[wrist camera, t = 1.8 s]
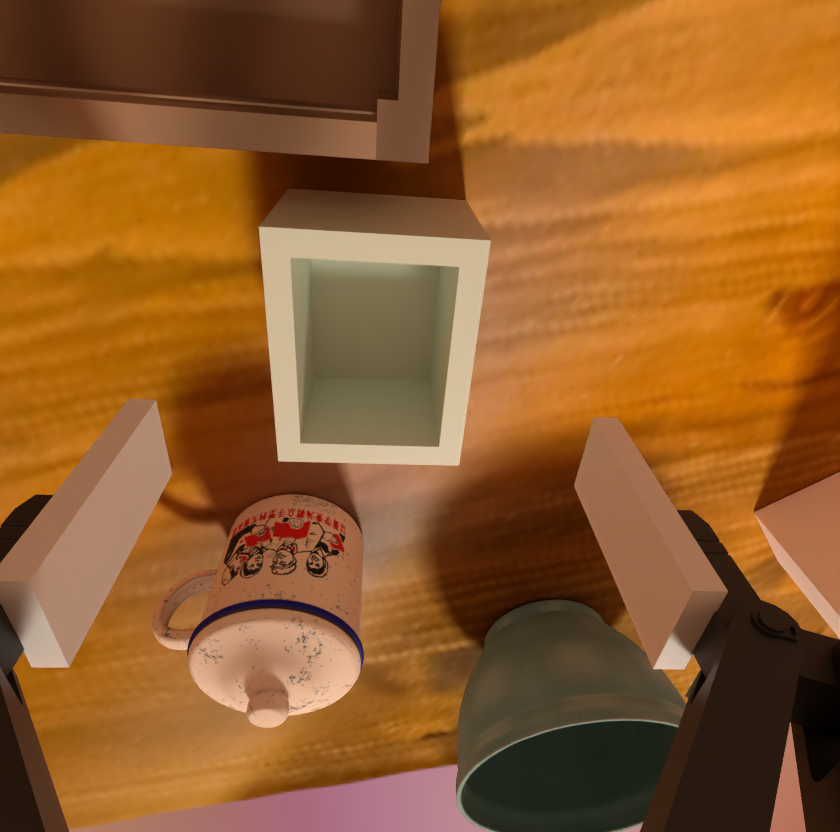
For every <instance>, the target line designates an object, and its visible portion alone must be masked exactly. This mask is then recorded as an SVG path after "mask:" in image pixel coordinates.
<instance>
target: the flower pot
mask: <svg viewBox="0 0 840 832" xmlns="http://www.w3.org/2000/svg"><path fill="white" fill-rule="evenodd" d="M685 707H686V703H685V702H684V700H683V698H682V697H681V695H680V694H679V692H678V690H677V689H676V688H675V686H674V685H673V684H672V682H671V681H670V680H669V678H668V677H667V676H666V674H665V673H664V672H663V671H662V670H661V669H653V668H652V666H651V664H650V661H649V659H648V657H647V654H646V653H645V652H644V651H643V650H642V649H641V648H640V647H639V646H637V645H636V644H635V643H634V642H633V641H631V640H630V639H629V638H627V637H626V636H625V635H623V634H622V633H620V632H619V631H617V630H616V629H614V628H612V627H610V626H609V625H607V624H605V622H604V621H603V619H602V618H601V616H600V615H599V614H598V613H597V612H596V611H595V610H593V609H592V608H590V607H588V606H586V605H585V604H582V603H579V602H575V601H569V600H544V601H538V602H534V603H530V604H527V605H523V606H521V607H518V608H516V609H514V610H512V611H510V612H508V613H507V614H505V615H504V616H502V617H501V618H500V619H498V620H497V621H496V622H495V623H494V624H493V625H492V627H491V628H490V629H489V631H488V633H487V635H486V637H485V641H484V651H483V653H482V655H481V656H480V658H479V660H478V661H477V663H476V665H475V667H474V669H473V671H472V673H471V676H470V678H469V681H468V683H467V686H466V689H465V692H464V696H463V700H462V704H461V708H460V714H459V721H458V731H457V764H458V773H457V779H456V800H457V806H458V809H459V811H460V812H461V814H462V815H463V816H464V817H465V818H466V820H468V821H469V822H470V823H472V824H473V825H475V826H477V827H479V828H481V829H483V830H486V831H489V832H619V831H623V830H627V829H630V828H633V827H636V826H639V825H641V824H643V822H644V819H645V817H646V814H647V811H648V808H649V806H650V803H651V800H652V797H653V795H654V792H655V789H656V786H657V784H658V781H659V778H660V775H661V773H662V770H663V767H664V764H665V762H666V759H667V756H668V754H669V751H670V748H671V745H672V743H673V740H674V737H675V734H676V732H677V729H678V726H679V723H680V721H681V718H682V715H683V712H684V710H685Z"/></svg>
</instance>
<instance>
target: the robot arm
mask: <svg viewBox="0 0 840 832" xmlns="http://www.w3.org/2000/svg"><path fill="white" fill-rule="evenodd" d="M171 475H172V471H171V466H170V461H169V457H168V452H167V448H166V443H165V439H164V434H163V429H162V425H161V420H160V416H159V411H158V406H157V402H156V400H144V399H128V401H127V402H126V403H125V404H124V406H123V407H122V408H121V410H120V411H119V412H118V413H117V415H116V416H115V417H114V419H113V420H112V421H111V422H110V424H109V425H108V426H107V427H106V429H105V430H104V431H103V433H102V434H101V435H100V436H99V438H98V439H97V440H96V442H95V443H94V444H93V445H92V447H91V448H90V449H89V450H88V452H87V453H86V454H85V456H84V457H83V458H82V459H81V461H80V462H79V463H78V465H77V466H76V467H75V468H74V470H73V471H72V472H71V474H70V475H69V476H68V477H67V479H66V480H65V481H64V482H63V484H62V485H61V486H60V488H59V489H58V490H57V491H56V493H55V494H54V495H35V496H33V497H32V498H30V499H29V500H27V501H26V502H24V503H23V504H21V505H20V506H18V507H17V508H15V509H14V510H13V512H12V513H11V514H10V515H9V516H8V517H7V519H6V520H5V521H4V522H3V523H2V525H1V528H0V832H69V830H68V827H67V824H66V821H65V818H64V815H63V812H62V809H61V806H60V803H59V800H58V797H57V794H56V791H55V788H54V785H53V782H52V779H51V776H50V773H49V770H48V767H47V764H46V761H45V758H44V755H43V752H42V749H41V746H40V744H39V741H38V738H37V735H36V732H35V729H34V726H33V723H32V720H31V717H30V714H29V711H28V708H27V705H26V702H25V699H24V696H23V693H22V690H21V687H20V684H19V681H18V678H17V675H16V674H15V672H14V670H13V667H14V665H15V664H16V662H17V660H18V659H19V657H20V656H21V654H22V652H23V651H24V653H25V655H26V657H27V659H28V661H29V663H30V665H31V667H70V665H71V663H72V661H73V659H74V657H75V655H76V653H77V652H78V650H79V648H80V646H81V644H82V642H83V640H84V638H85V637H86V635H87V633H88V631H89V629H90V627H91V625H92V623H93V622H94V620H95V618H96V616H97V614H98V612H99V610H100V608H101V607H102V605H103V603H104V601H105V599H106V597H107V595H108V593H109V592H110V590H111V588H112V586H113V584H114V582H115V580H116V578H117V577H118V575H119V573H120V571H121V569H122V567H123V565H124V563H125V562H126V560H127V558H128V556H129V554H130V552H131V550H132V548H133V547H134V545H135V543H136V541H137V539H138V537H139V535H140V533H141V532H142V530H143V528H144V526H145V524H146V522H147V520H148V518H149V517H150V515H151V513H152V511H153V509H154V507H155V505H156V503H157V502H158V500H159V498H160V496H161V494H162V492H163V490H164V488H165V487H166V485H167V483H168V481H169V479H170V477H171ZM574 487H575V490H576V492H577V494H578V497H579V499H580V501H581V504H582V506H583V508H584V510H585V513H586V515H587V517H588V520H589V522H590V524H591V527H592V529H593V531H594V534H595V536H596V538H597V541H598V543H599V545H600V548H601V550H602V552H603V555H604V557H605V559H606V562H607V564H608V566H609V569H610V571H611V573H612V575H613V578H614V580H615V582H616V585H617V587H618V589H619V592H620V594H621V596H622V599H623V601H624V603H625V606H626V608H627V610H628V613H629V615H630V617H631V620H632V622H633V624H634V627H635V629H636V631H637V634H638V636H639V638H640V640H641V643H642V645H643V647H644V650H645V652H646V654H647V657H648V659H649V661H650V664H651V666H652V668H653V669H685V667H686V665H687V663H688V662H689V660H690V658H691V656H692V655H693V654H694V656H695V658H696V660H697V662H698V664H699V666H700V668H701V670H700V672H699V673H698V675H697V677H696V679H695V680H694V682H693V684H692V685H691V687H690V689H689V690H688V692H687V694H686V695H685V696H686V697H688V698H689V699H688V701H687V704H686V707H685V710H684V712H683V715H682V718H681V721H680V723H679V726H678V729H677V732H676V734H675V737H674V740H673V743H672V745H671V748H670V751H669V754H668V756H667V759H666V762H665V764H664V767H663V770H662V773H661V775H660V778H659V781H658V784H657V786H656V789H655V792H654V795H653V797H652V800H651V803H650V806H649V808H648V811H647V814H646V817H645V819H644V822H643V825H642V828H641V830H640V832H770V827H771V821H772V816H773V811H774V805H775V799H776V794H777V788H778V783H779V778H780V773H781V767H782V762H783V757H784V751H785V746H786V740H787V735H788V730H789V724H790V722H791V727H792V733H793V740H794V748H795V755H796V762H797V769H798V777H799V784H800V790H801V798H802V805H803V813H804V820H805V827H806V832H840V640H838V639H835V638H831V637H827V636H824V635H820V634H816V633H813V632H809V631H806V630H803V629H801V628H800V626H799V625H798V623H797V622H796V621H795V620H794V619H793V618H792V617H791V616H790V615H789V614H788V613H786V612H785V611H783V610H782V609H780V608H778V607H777V606H775V605H773V604H770V603H767V602H765V601H761V600H760V598H759V597H758V595H757V594H756V592H755V591H754V590H753V588H752V587H751V585H750V584H749V582H748V581H747V579H746V578H745V576H744V575H743V574H742V572H741V571H740V569H739V568H738V566H737V565H736V563H735V562H734V560H733V559H732V557H731V556H730V555H728V552H727V550H726V549H725V547H724V546H723V544H722V543H720V542H719V539H718V537H717V536H716V534H715V533H714V531H713V530H712V528H711V527H710V525H709V524H708V523H706V522H705V521H704V520H703V519H702V518H700V517H699V516H698V515H697V514H696V513H694V512H693V511H689V510H676V509H675V507H674V506H673V504H672V502H671V501H670V499H669V498H668V496H667V495H666V493H665V491H664V490H663V488H662V487H661V485H660V484H659V482H658V480H657V479H656V477H655V476H654V474H653V473H652V471H651V469H650V468H649V466H648V465H647V463H646V462H645V460H644V458H643V457H642V455H641V454H640V452H639V451H638V449H637V447H636V446H635V444H634V443H633V441H632V440H631V438H630V436H629V435H628V433H627V432H626V430H625V429H624V427H623V425H622V424H621V422H620V421H619V419H618V418H602V417H594V419H593V422H592V425H591V429H590V432H589V436H588V439H587V443H586V446H585V449H584V453H583V456H582V460H581V463H580V466H579V470H578V473H577V477H576V480H575V484H574Z"/></svg>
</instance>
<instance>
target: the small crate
mask: <svg viewBox="0 0 840 832" xmlns="http://www.w3.org/2000/svg"><path fill="white" fill-rule="evenodd" d="M259 235H260V247H261V259H262V271H263V283H264V295H265V308H266V320H267V332H268V344H269V356H270V368H271V380H272V393H273V405H274V417H275V429H276V441H277V453H278V461H283V462H327V463H370V464H414V465H458V466H459V463H460V456H461V449H462V441H463V434H464V427H465V420H466V413H467V406H468V399H469V392H470V385H471V378H472V370H473V363H474V356H475V349H476V342H477V335H478V328H479V321H480V314H481V307H482V299H483V292H484V285H485V278H486V271H487V264H488V257H489V250H490V243H491V240H490V238H489V237H488V235H487V234H486V232H485V230H484V229H483V227H482V225H481V224H480V222H479V221H478V219H477V217H476V216H475V214H474V212H473V211H472V209H471V208H470V206H469V204H468V203H467V201H466V200H457V199H442V198H427V197H412V196H396V195H381V194H366V193H351V192H336V191H321V190H306V189H291V188H288V189H287V190H286V192H285V193H284V194H283V196H282V197H281V198H280V200H279V201H278V202H277V204H276V205H275V206H274V207H273V209H272V210H271V211H270V213H269V214H268V215H267V217H266V218H265V219H264V220H263V222H262V223H261V224H260V226H259Z"/></svg>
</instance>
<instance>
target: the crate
mask: <svg viewBox="0 0 840 832" xmlns="http://www.w3.org/2000/svg"><path fill="white" fill-rule="evenodd" d="M440 1H441V0H0V133H11V134H25V135H39V136H53V137H67V138H80V139H94V140H108V141H122V142H136V143H150V144H164V145H178V146H191V147H205V148H219V149H233V150H247V151H261V152H275V153H288V154H302V155H316V156H330V157H344V158H358V159H372V160H386V161H399V162H413V163H427V164H428V161H429V148H430V134H431V121H432V108H433V94H434V81H435V68H436V54H437V41H438V28H439V15H440Z"/></svg>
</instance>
